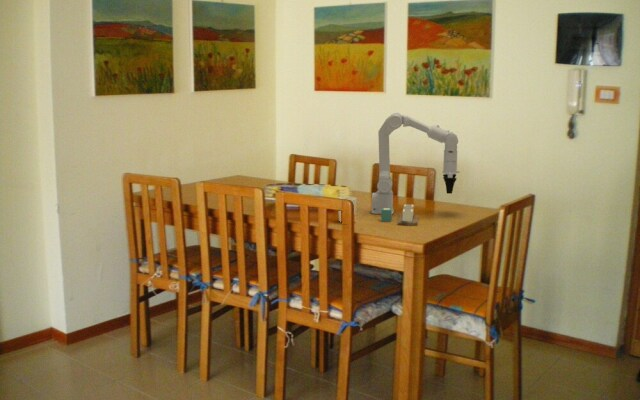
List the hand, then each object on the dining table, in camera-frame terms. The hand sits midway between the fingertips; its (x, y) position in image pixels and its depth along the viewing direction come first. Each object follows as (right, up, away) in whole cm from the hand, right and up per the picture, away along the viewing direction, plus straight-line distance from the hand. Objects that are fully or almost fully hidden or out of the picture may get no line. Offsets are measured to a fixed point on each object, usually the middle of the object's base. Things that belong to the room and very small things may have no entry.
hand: (449, 191), depth 300 cm
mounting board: (-19, -12, -12) cm, 26 cm away
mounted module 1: (-19, -10, -7) cm, 22 cm away
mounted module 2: (-20, -12, -18) cm, 29 cm away
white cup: (-45, -13, -13) cm, 49 cm away
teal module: (-28, -12, -11) cm, 33 cm away
